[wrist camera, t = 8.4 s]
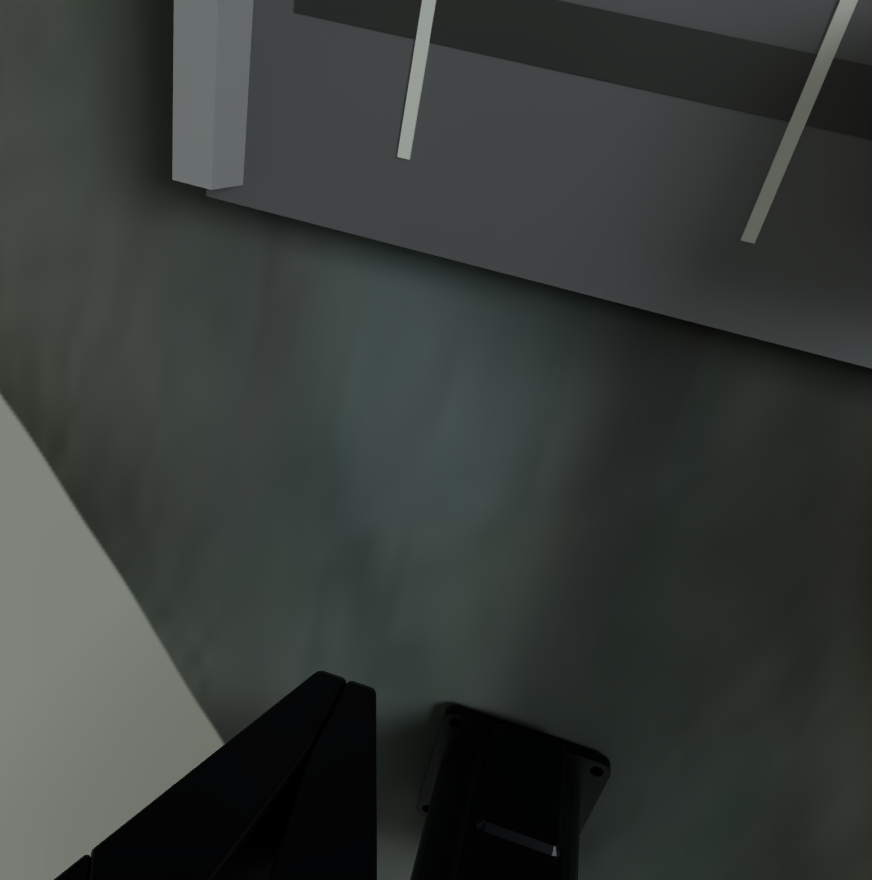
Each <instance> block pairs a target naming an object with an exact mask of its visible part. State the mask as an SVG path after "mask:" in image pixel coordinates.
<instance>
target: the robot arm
mask: <svg viewBox="0 0 872 880" xmlns="http://www.w3.org/2000/svg"><path fill="white" fill-rule="evenodd" d="M456 719H458V720H456ZM609 777H610V761H609V759H608V758H607V757H606V756H604V755H602V754H599V753H596V752H593V751H590V750H587V749H584V748H581V747H579V746H576V745H573V744H570V743H567V742H564V741H561V740H558V739H555V738H552V737H549V736H546V735H543V734H540V733H537V732H534V731H531V730H528V729H525V728H522V727H519V726H516V725H513V724H510V723H508V722H505V721H502V720H499V719H496V718H493V717H490V716H487V715H484V714H481V713H478V712H475V711H472V710H469V709H466V708H463V707H460V706H450V707H449V708H447V709H446V711H445V714H444V717H443V721H442V724H441V727H440V730H439V734H438V737H437V740H436V743H435V747H434V750H433V753H432V757H431V760H430V763H429V766H428V770H427V773H426V776H425V779H424V783H423V786H422V789H421V792H420V796H419V799H418V803H417V809H418V811H419V812H420V813H421V814H422V815H424V816H426V820H425V824H424V828H423V832H422V836H421V840H420V844H419V848H418V852H417V855H416V859H415V863H414V867H413V871H412V875H411V879H410V880H578V858H579V834H580V832H581V830H582V829H583V827H584V825H585V823H586V821H587V819H588V817H589V815H590V813H591V811H592V809H593V807H594V805H595V804H596V802H597V800H598V798H599V796H600V794H601V792H602V790H603V788H604V786H605V784H606V782H607V780H608V779H609ZM54 880H377V804H376V692H375V690H374V688H372V687H369V686H366V685H363V684H360V683H357V682H354V681H349V682H348V683H347V684H346V680H345V679H344V678H343V677H340V676H337V675H334V674H331V673H328V672H325V671H318V672H316V673H314V674H313V675H312V676H311V677H309V678H308V679H307V680H305V681H304V682H303V683H302V684H300V685H299V686H298V687H297V688H295V689H294V690H293V691H292V692H290V693H289V694H288V695H287V696H285V697H284V698H283V699H282V700H280V701H279V702H278V703H276V704H275V705H274V706H273V707H271V708H270V709H269V710H268V711H266V712H265V713H264V714H263V715H261V716H260V717H259V718H258V719H256V720H255V721H254V722H252V723H251V724H250V725H249V726H247V727H246V728H245V729H244V730H242V731H241V732H240V733H239V734H237V735H236V736H235V737H234V738H232V739H231V740H230V741H229V742H227V743H226V744H225V745H223V746H222V747H221V748H220V749H219V750H217V751H216V752H215V753H213V754H212V755H211V756H210V757H208V758H207V759H206V760H205V761H203V762H202V763H201V764H200V765H198V766H197V767H196V768H194V769H193V770H192V771H191V772H189V773H188V774H187V775H186V776H185V777H183V778H182V779H181V780H179V781H178V782H177V783H176V784H174V785H173V786H172V787H171V788H169V789H168V790H167V791H165V792H164V793H163V794H162V795H161V796H159V797H158V798H157V799H155V800H154V801H153V802H152V803H150V804H149V805H148V806H147V807H145V808H144V809H143V810H142V811H141V812H139V813H138V814H136V815H135V816H134V817H133V818H131V819H130V820H129V821H128V822H126V823H125V824H124V825H123V826H121V827H120V828H119V829H118V830H116V831H115V832H114V833H113V834H111V835H110V836H109V837H107V838H106V839H105V840H104V841H102V842H101V843H100V844H99V845H97V846H96V847H95V848H94V849H93V850H92V852H91V858H90V856H89V855H85V856H83V857H82V858H80V859H79V860H78V861H77V862H75V863H74V864H73V865H72V866H71V867H69V868H68V869H67V870H65V871H64V872H63V873H62V874H61V875H59V876H58V877H57V878H56V879H54Z"/></svg>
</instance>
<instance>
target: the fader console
mask: <svg viewBox="0 0 872 880" xmlns="http://www.w3.org/2000/svg"><path fill="white" fill-rule="evenodd" d="M172 180H175V181H179V182H183V183H187V184H190V185H194V186H198V187H202V188H206V196H207V197H211V198H215V199H219V200H223V201H227V202H230V203H234V204H238V205H242V206H246V207H250V208H254V209H257V210H261V211H265V212H269V213H273V214H277V215H281V216H285V217H288V218H292V219H296V220H300V221H304V222H308V223H312V224H315V225H319V226H323V227H327V228H331V229H335V230H339V231H342V232H346V233H350V234H354V235H358V236H362V237H366V238H369V239H373V240H377V241H381V242H385V243H389V244H393V245H396V246H400V247H404V248H408V249H412V250H416V251H420V252H423V253H427V254H431V255H435V256H439V257H443V258H447V259H450V260H454V261H458V262H462V263H466V264H470V265H474V266H478V267H481V268H485V269H489V270H493V271H497V272H501V273H505V274H508V275H512V276H516V277H520V278H524V279H528V280H532V281H535V282H539V283H543V284H547V285H551V286H555V287H559V288H562V289H566V290H570V291H574V292H578V293H582V294H586V295H589V296H593V297H597V298H601V299H605V300H609V301H613V302H616V303H620V304H624V305H628V306H632V307H636V308H640V309H644V310H647V311H651V312H655V313H659V314H663V315H667V316H671V317H674V318H678V319H682V320H686V321H690V322H694V323H698V324H701V325H705V326H709V327H713V328H717V329H721V330H725V331H728V332H732V333H736V334H740V335H744V336H748V337H752V338H755V339H759V340H763V341H767V342H771V343H775V344H779V345H782V346H786V347H790V348H794V349H798V350H802V351H806V352H809V353H813V354H817V355H821V356H825V357H829V358H833V359H837V360H840V361H844V362H848V363H852V364H856V365H860V366H864V367H867V368H871V369H872V0H174V36H173V160H172Z"/></svg>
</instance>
